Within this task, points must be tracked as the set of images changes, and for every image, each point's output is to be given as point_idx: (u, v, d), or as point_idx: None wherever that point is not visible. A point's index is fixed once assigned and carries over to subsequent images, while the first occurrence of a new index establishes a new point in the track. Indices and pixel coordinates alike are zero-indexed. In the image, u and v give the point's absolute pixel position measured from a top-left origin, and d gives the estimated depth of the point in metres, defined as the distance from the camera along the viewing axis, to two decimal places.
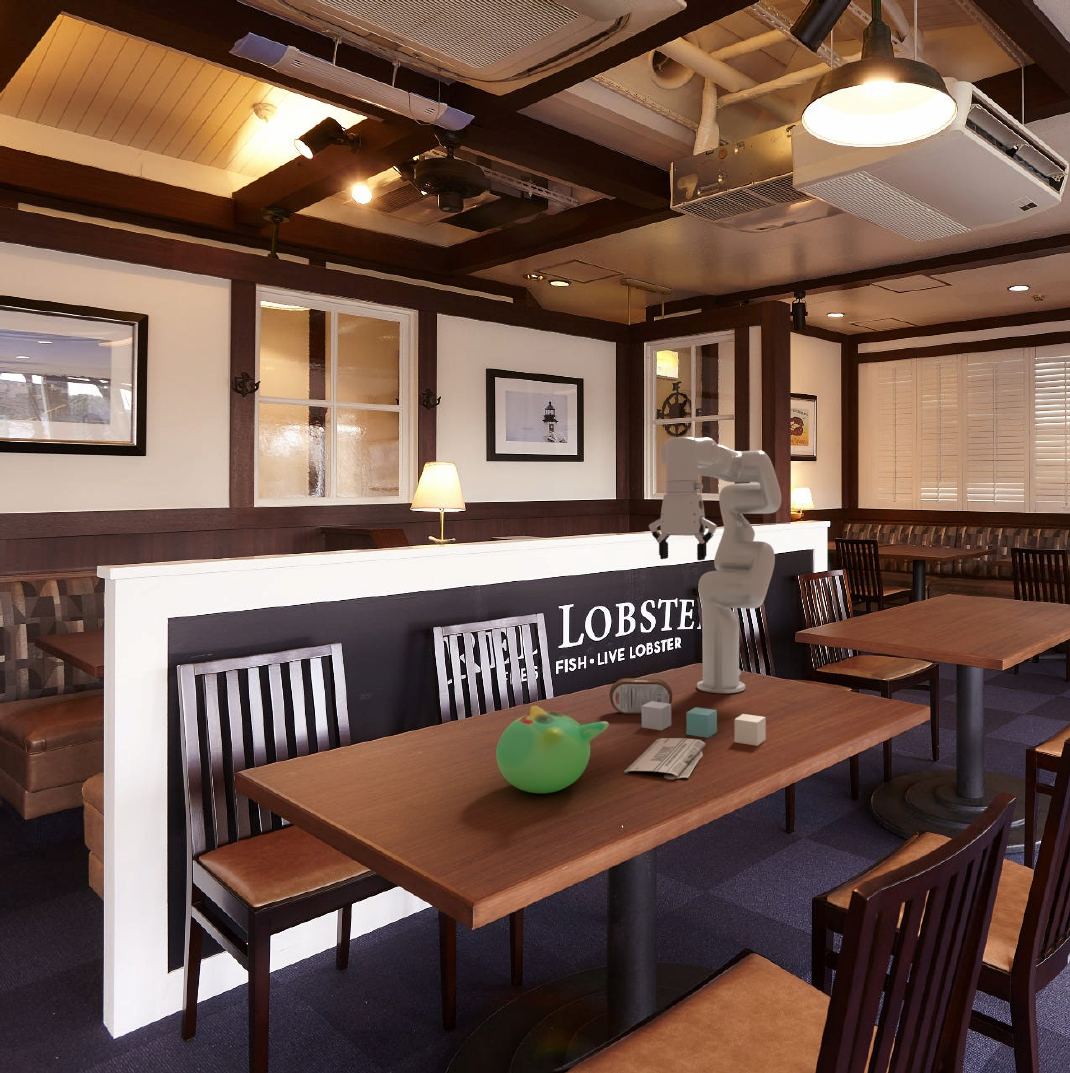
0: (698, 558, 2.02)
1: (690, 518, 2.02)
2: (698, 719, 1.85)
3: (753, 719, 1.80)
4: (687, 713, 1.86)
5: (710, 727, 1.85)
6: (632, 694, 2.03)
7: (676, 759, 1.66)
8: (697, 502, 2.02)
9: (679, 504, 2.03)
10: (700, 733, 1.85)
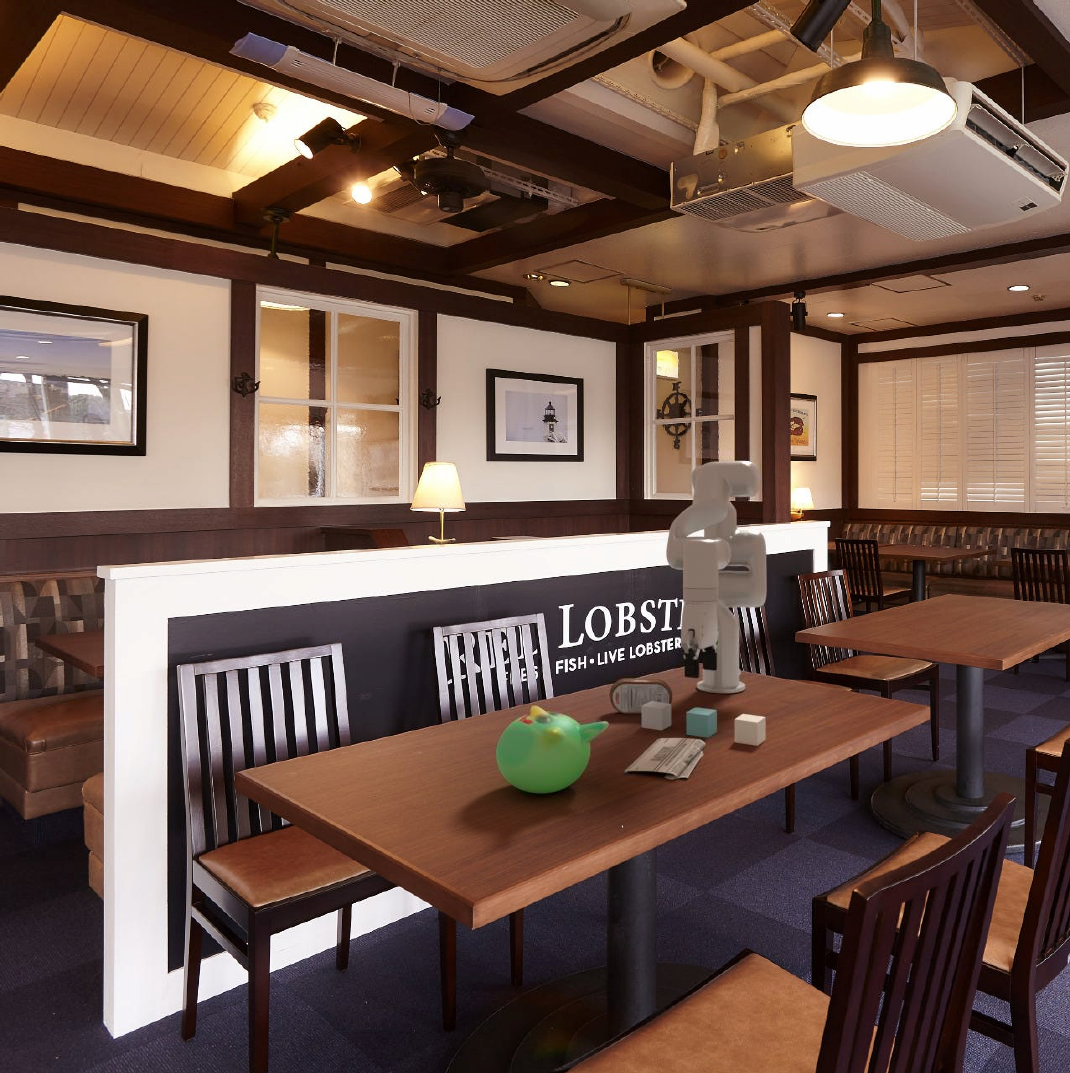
0: (716, 668, 1.89)
1: (716, 627, 1.87)
2: (698, 719, 1.85)
3: (753, 719, 1.80)
4: (687, 713, 1.86)
5: (710, 727, 1.85)
6: (632, 694, 2.03)
7: (676, 759, 1.66)
8: None
9: (712, 613, 1.85)
10: (700, 733, 1.85)
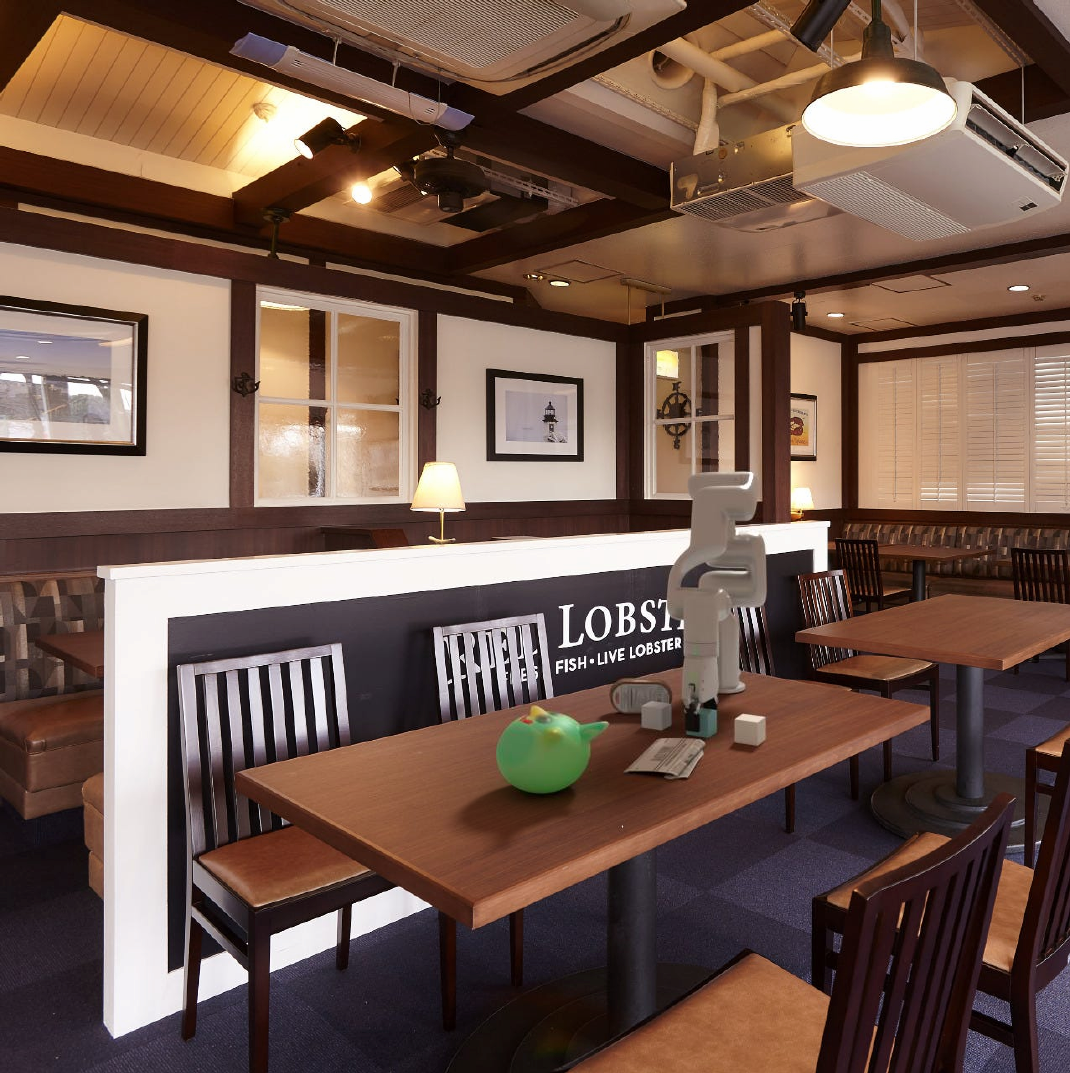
0: None
1: (716, 679, 1.88)
2: None
3: (753, 719, 1.80)
4: None
5: (710, 727, 1.85)
6: (632, 694, 2.03)
7: (676, 759, 1.66)
8: None
9: (712, 666, 1.86)
10: (700, 732, 1.85)
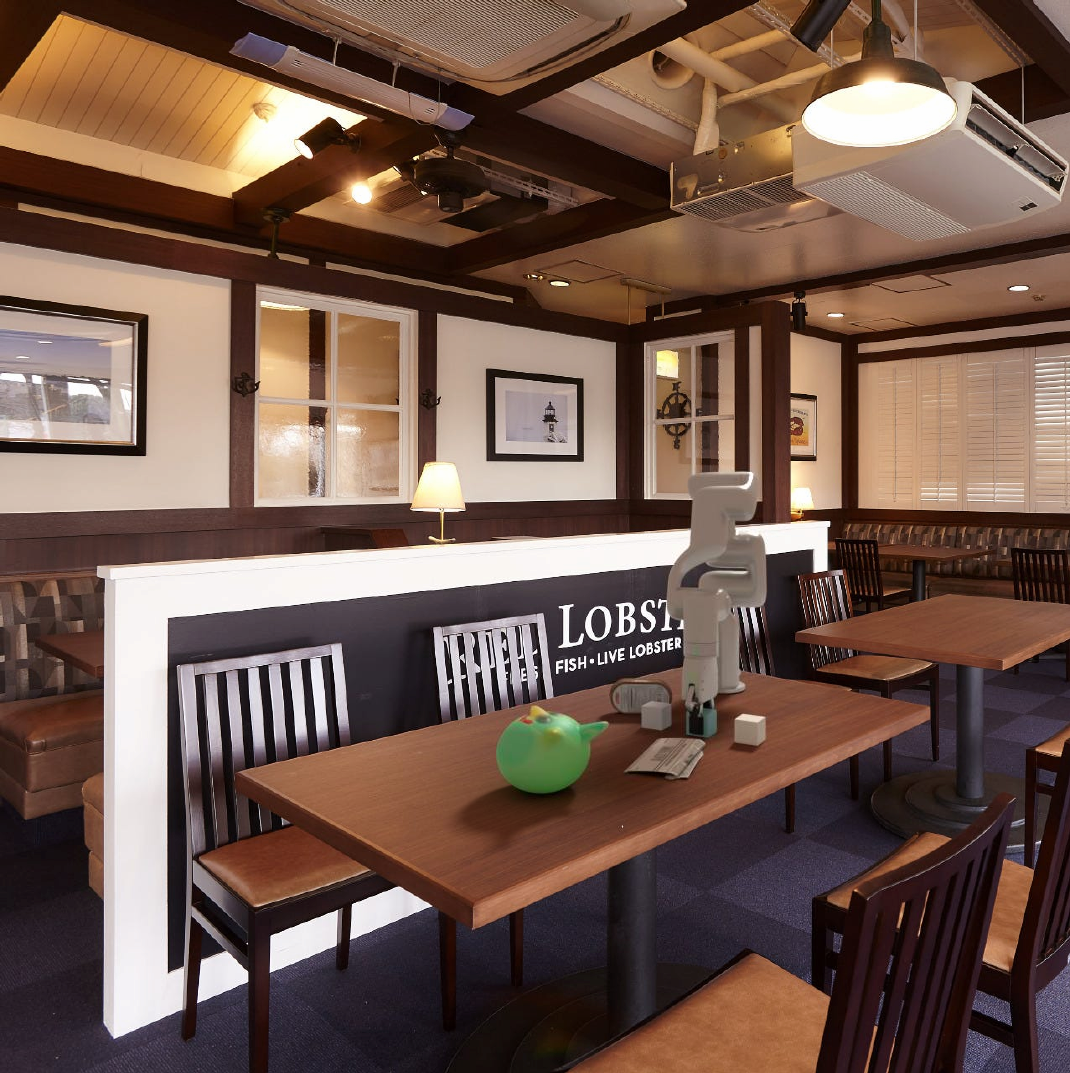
0: None
1: (716, 679, 1.88)
2: None
3: (753, 719, 1.80)
4: (687, 713, 1.86)
5: (710, 727, 1.85)
6: (632, 694, 2.03)
7: (676, 759, 1.66)
8: None
9: (712, 666, 1.86)
10: None
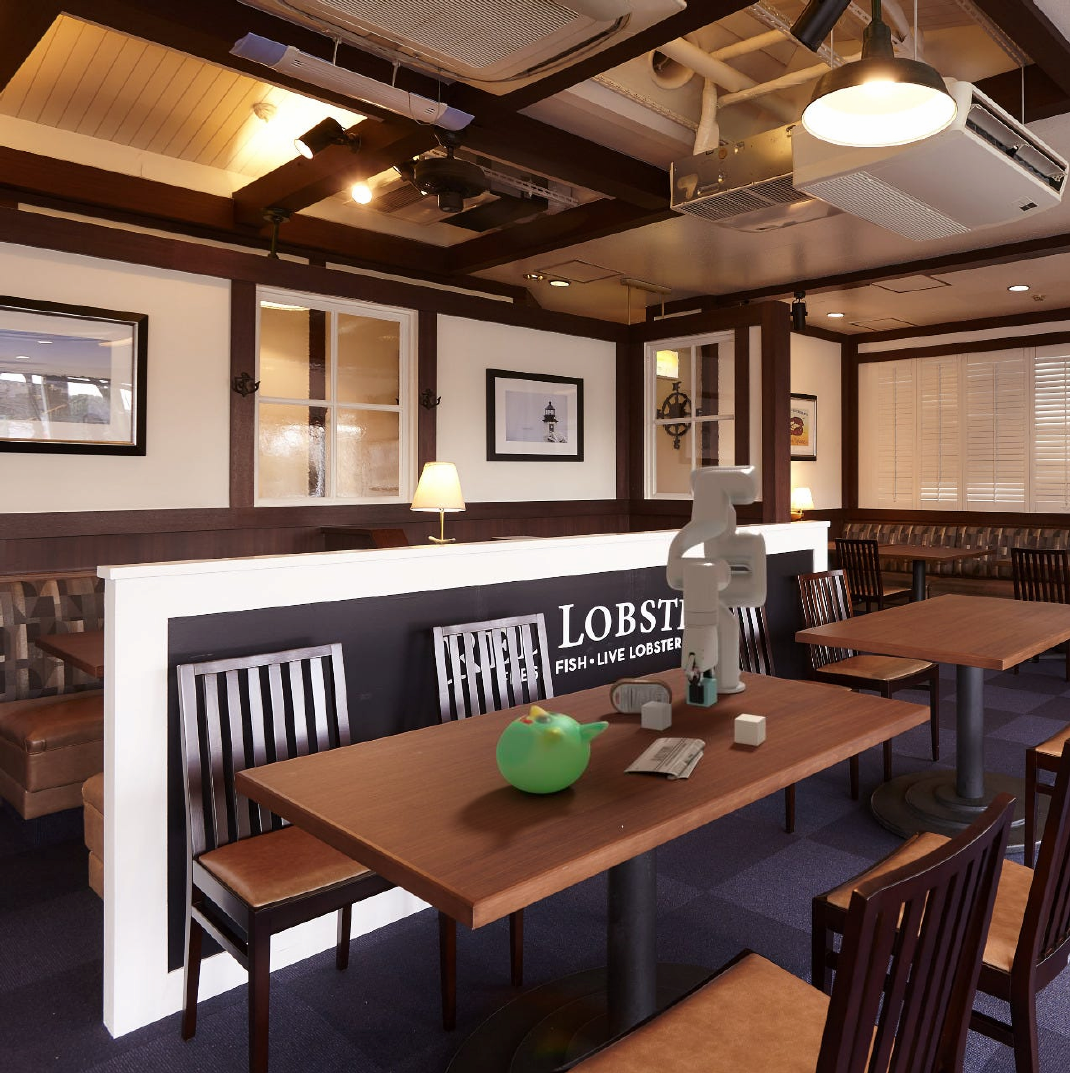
0: None
1: (716, 648, 1.88)
2: None
3: (753, 719, 1.80)
4: (687, 682, 1.86)
5: (710, 696, 1.85)
6: (632, 694, 2.03)
7: (676, 759, 1.66)
8: None
9: (712, 636, 1.85)
10: None
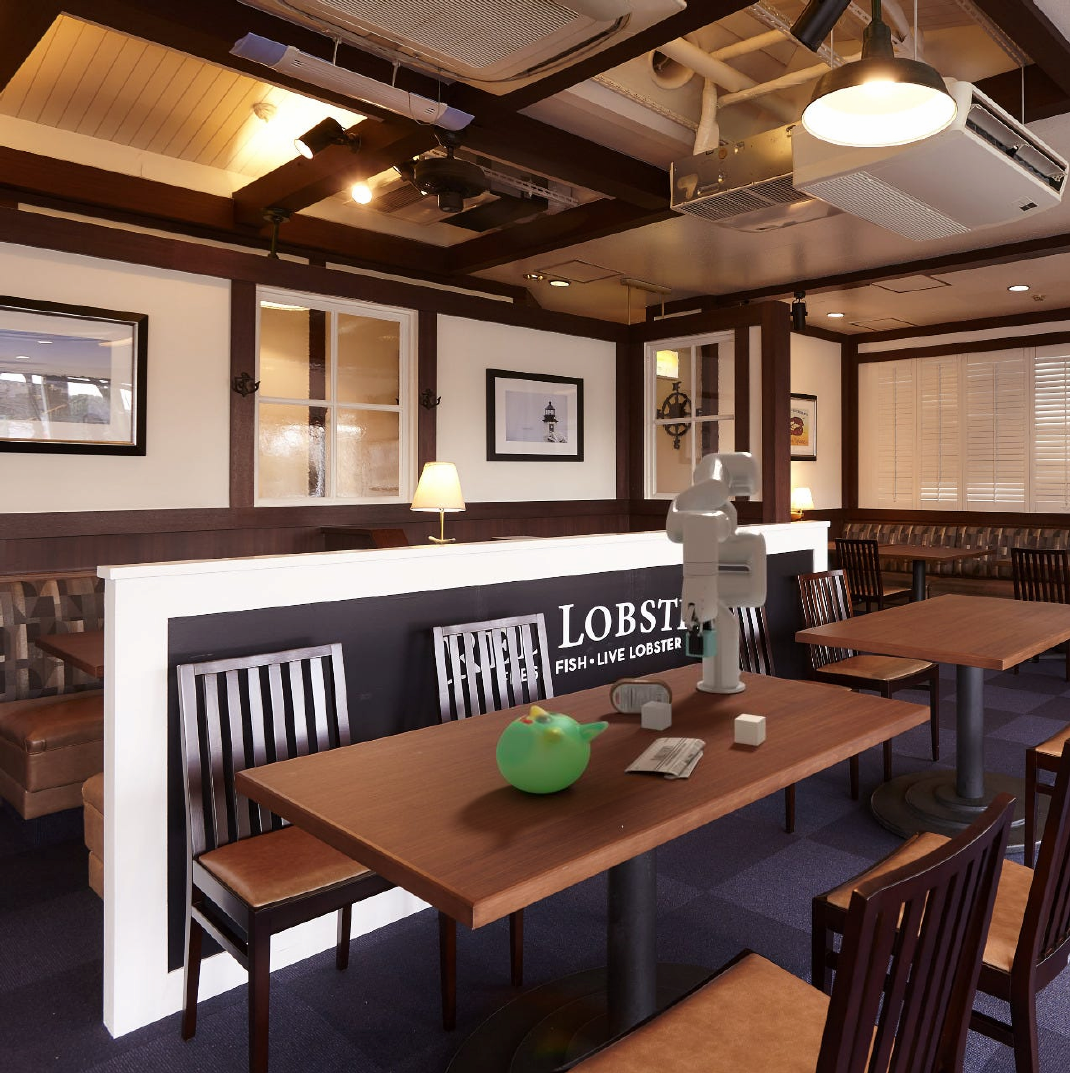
0: None
1: (716, 600, 1.87)
2: None
3: (753, 719, 1.80)
4: (687, 633, 1.86)
5: (710, 647, 1.84)
6: (632, 694, 2.03)
7: (676, 759, 1.66)
8: None
9: (712, 587, 1.85)
10: None
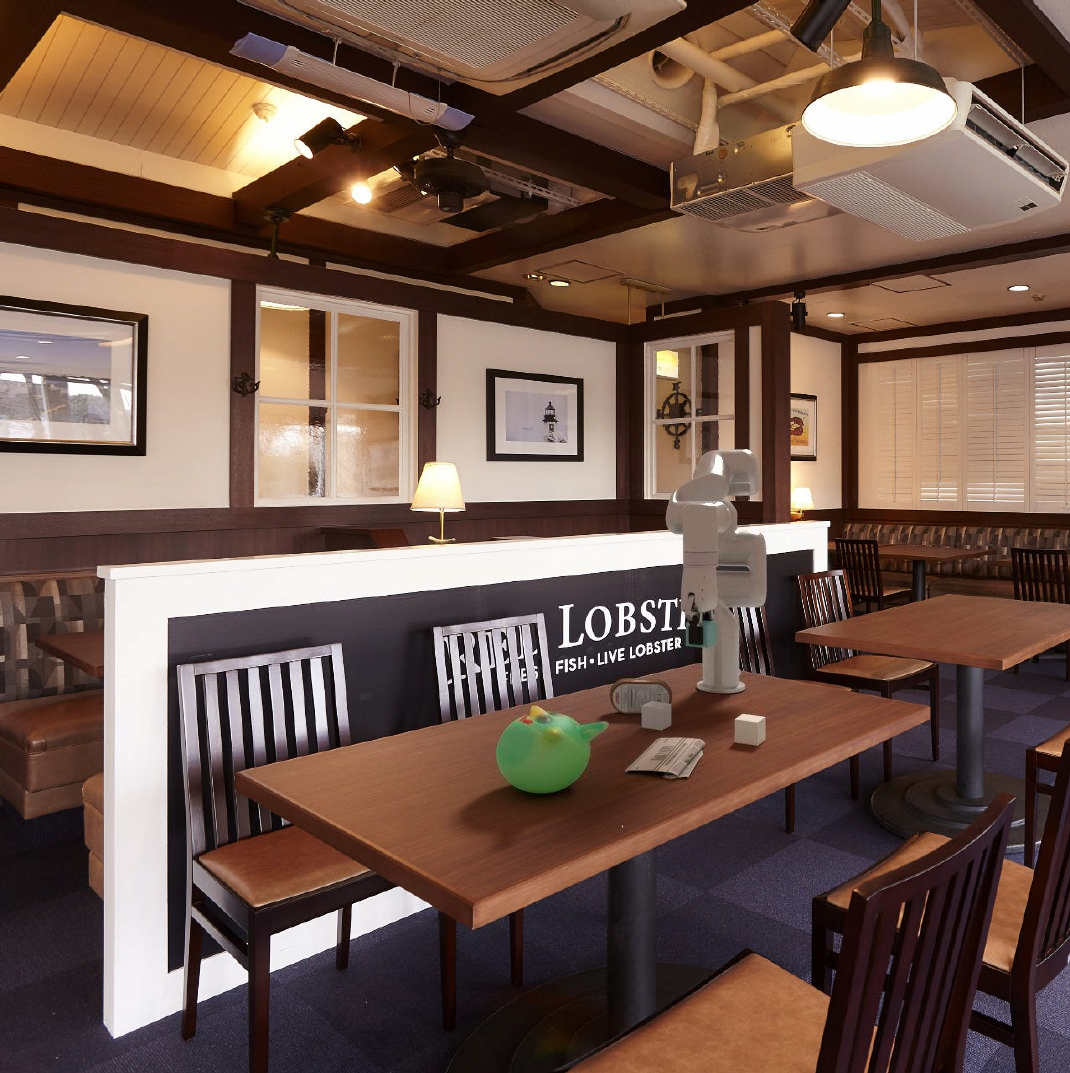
0: None
1: (716, 591, 1.87)
2: None
3: (753, 719, 1.80)
4: (686, 624, 1.85)
5: (709, 637, 1.84)
6: (632, 694, 2.03)
7: (676, 758, 1.66)
8: None
9: (712, 577, 1.84)
10: None
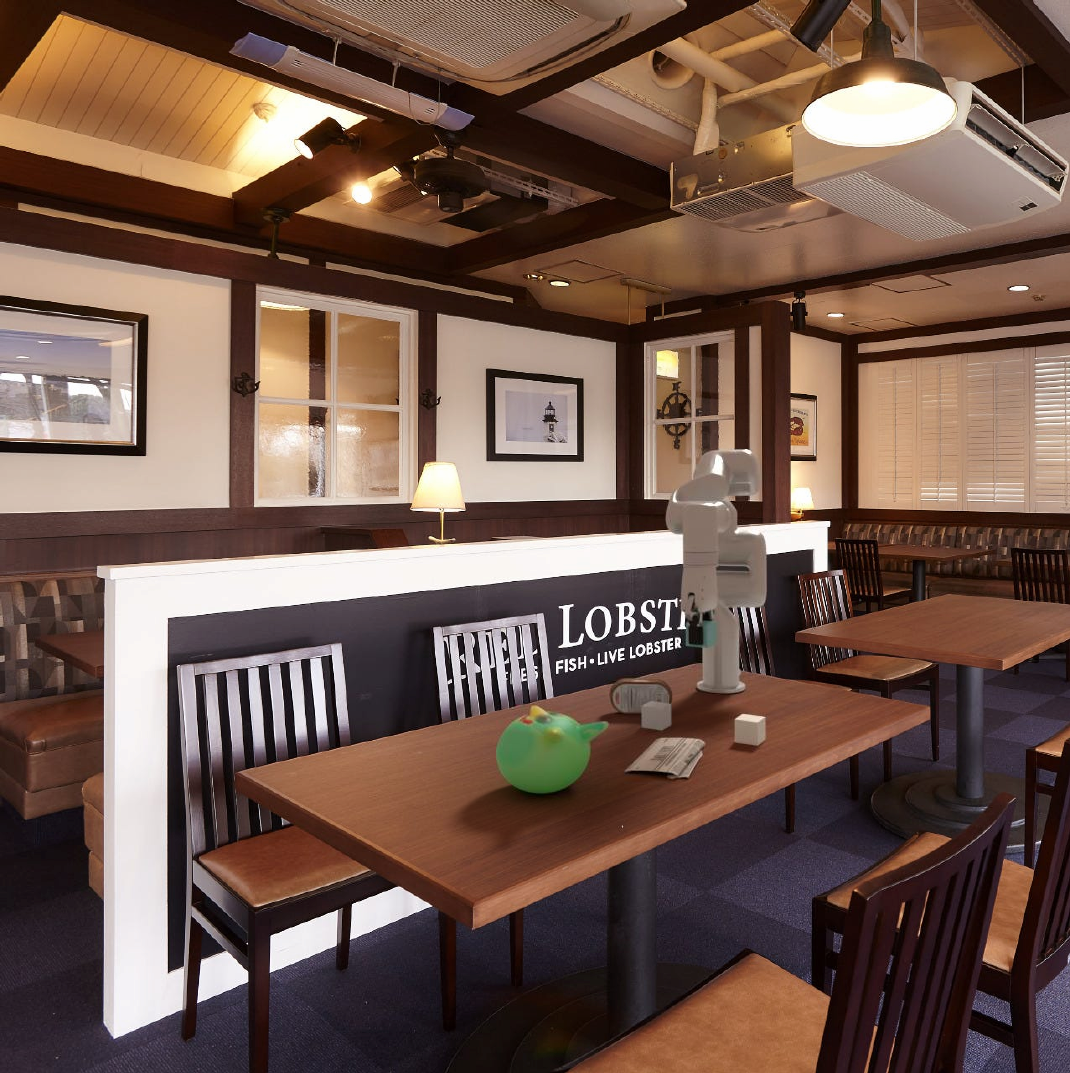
0: None
1: (716, 591, 1.87)
2: None
3: (753, 719, 1.80)
4: (686, 624, 1.85)
5: (709, 637, 1.84)
6: (632, 694, 2.03)
7: (676, 758, 1.66)
8: None
9: (712, 577, 1.84)
10: None
